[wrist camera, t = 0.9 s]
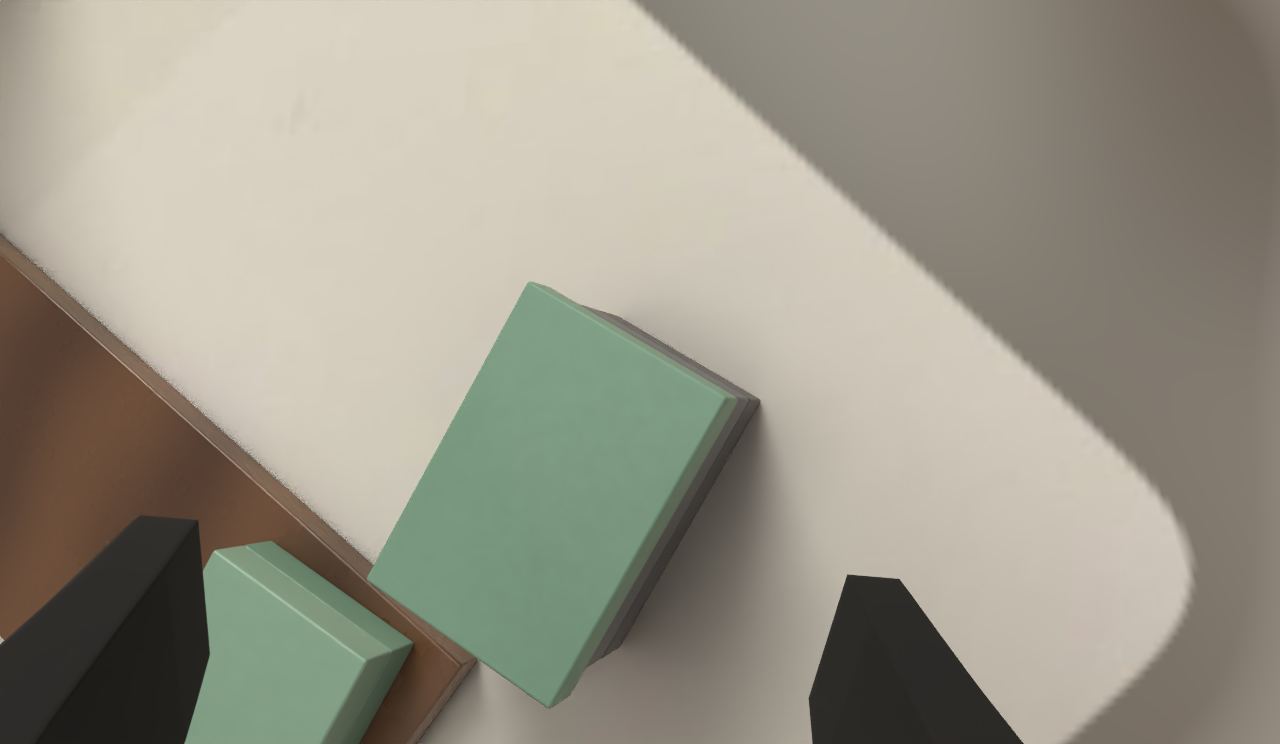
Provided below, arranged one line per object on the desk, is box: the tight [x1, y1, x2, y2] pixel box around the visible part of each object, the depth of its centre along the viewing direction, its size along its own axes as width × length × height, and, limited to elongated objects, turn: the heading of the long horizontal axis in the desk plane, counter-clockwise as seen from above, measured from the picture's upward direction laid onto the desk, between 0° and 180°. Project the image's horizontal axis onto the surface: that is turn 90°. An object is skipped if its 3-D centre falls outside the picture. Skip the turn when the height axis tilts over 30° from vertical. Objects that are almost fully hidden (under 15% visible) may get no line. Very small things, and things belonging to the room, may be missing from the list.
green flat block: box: [184, 541, 414, 744], centre depth 29 cm, size 5×7×2 cm, turn 149°
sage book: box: [367, 282, 738, 708], centre depth 24 cm, size 5×7×1 cm, turn 149°
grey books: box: [581, 305, 760, 667], centre depth 26 cm, size 4×7×4 cm, turn 150°
